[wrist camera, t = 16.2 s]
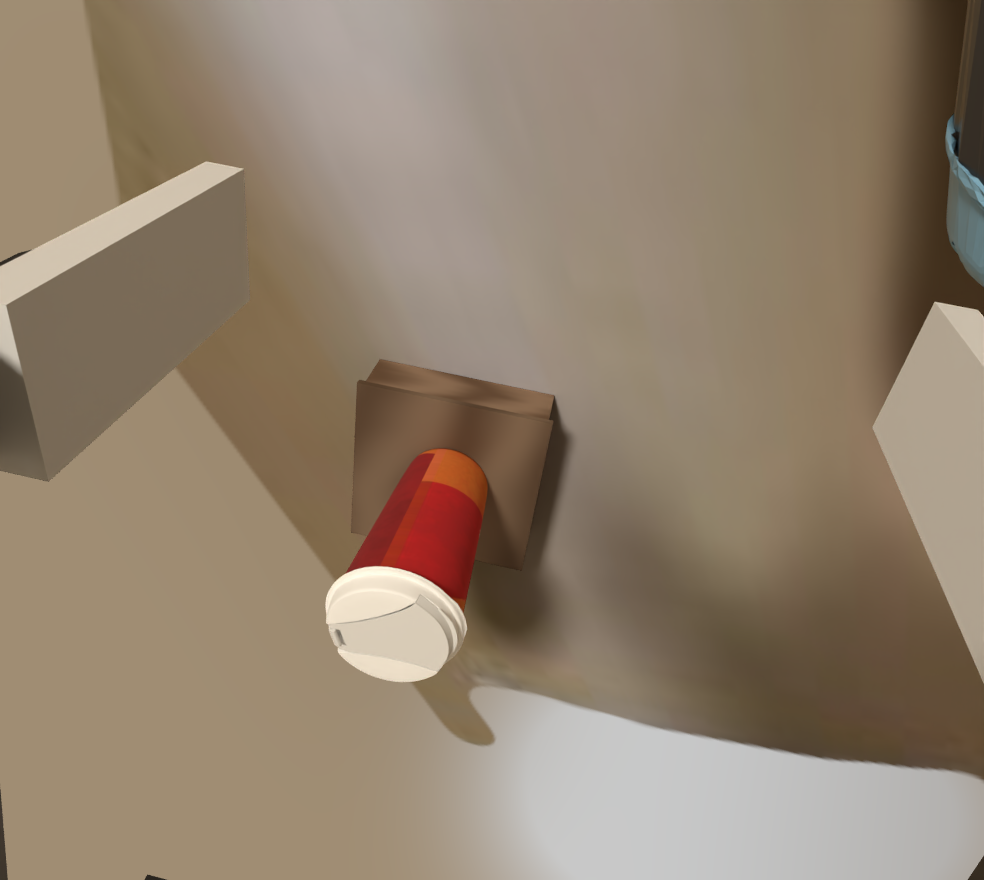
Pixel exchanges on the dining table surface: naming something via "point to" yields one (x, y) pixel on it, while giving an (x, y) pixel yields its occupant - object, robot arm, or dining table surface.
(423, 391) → the podium
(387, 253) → the dining table surface
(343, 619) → the paper cup
